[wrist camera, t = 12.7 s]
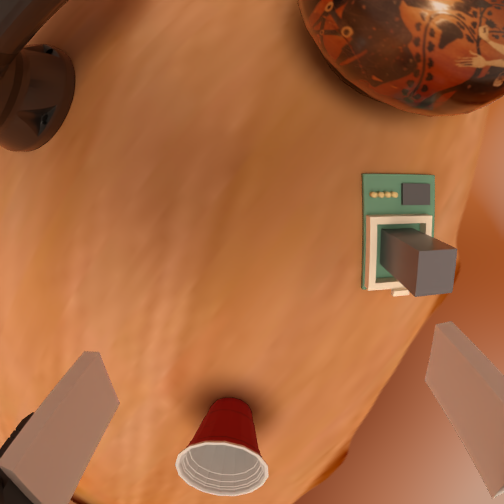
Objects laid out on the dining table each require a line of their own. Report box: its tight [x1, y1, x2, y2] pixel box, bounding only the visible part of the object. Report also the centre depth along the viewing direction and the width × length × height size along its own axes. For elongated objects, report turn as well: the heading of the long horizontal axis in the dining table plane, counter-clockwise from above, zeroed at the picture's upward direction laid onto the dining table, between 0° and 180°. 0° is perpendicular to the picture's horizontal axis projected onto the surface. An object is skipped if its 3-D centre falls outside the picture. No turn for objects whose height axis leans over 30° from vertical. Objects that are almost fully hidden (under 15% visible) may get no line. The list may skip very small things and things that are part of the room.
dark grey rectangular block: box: [380, 228, 457, 297], centre depth 29 cm, size 5×4×10 cm
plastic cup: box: [175, 398, 268, 496], centre depth 35 cm, size 11×11×12 cm
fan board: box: [361, 174, 435, 296], centre depth 32 cm, size 13×9×3 cm
